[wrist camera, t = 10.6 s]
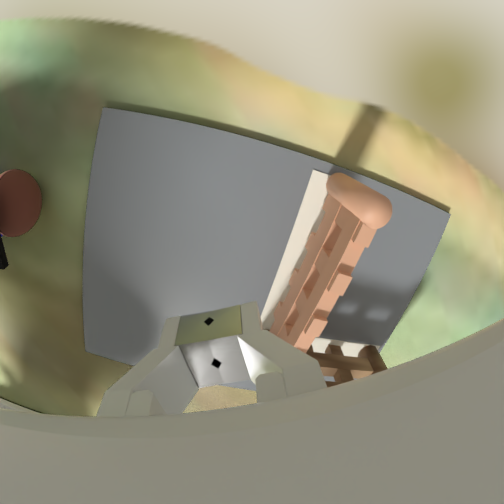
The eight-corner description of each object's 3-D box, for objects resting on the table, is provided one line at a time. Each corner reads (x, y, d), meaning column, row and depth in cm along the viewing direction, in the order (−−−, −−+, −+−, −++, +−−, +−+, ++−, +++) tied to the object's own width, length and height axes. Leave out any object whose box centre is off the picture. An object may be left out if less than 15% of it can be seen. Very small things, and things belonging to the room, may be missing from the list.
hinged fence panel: (282, 330, 25) (294, 386, 19) (261, 325, 24) (269, 382, 19) (354, 178, 20) (397, 202, 14) (332, 168, 19) (370, 188, 14)
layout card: (86, 348, 26) (85, 351, 25) (105, 107, 17) (102, 107, 17) (346, 396, 30) (347, 399, 30) (448, 212, 22) (451, 214, 22)
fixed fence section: (250, 344, 26) (255, 407, 19) (256, 326, 25) (263, 390, 18) (370, 360, 28) (395, 412, 21) (379, 345, 27) (408, 397, 20)
